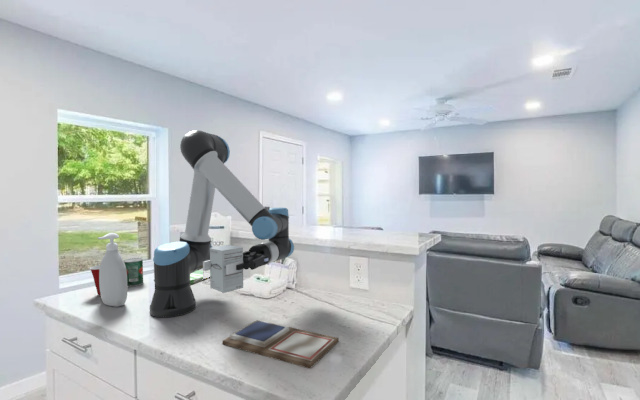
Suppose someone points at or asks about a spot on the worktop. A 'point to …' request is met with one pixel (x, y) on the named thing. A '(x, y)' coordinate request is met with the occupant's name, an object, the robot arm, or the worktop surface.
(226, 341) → the stamping board
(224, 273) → the supplement box
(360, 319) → the worktop surface
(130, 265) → the canned tomato
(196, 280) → the dish towel
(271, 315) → the worktop surface
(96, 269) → the plastic cup
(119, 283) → the soap bottle
